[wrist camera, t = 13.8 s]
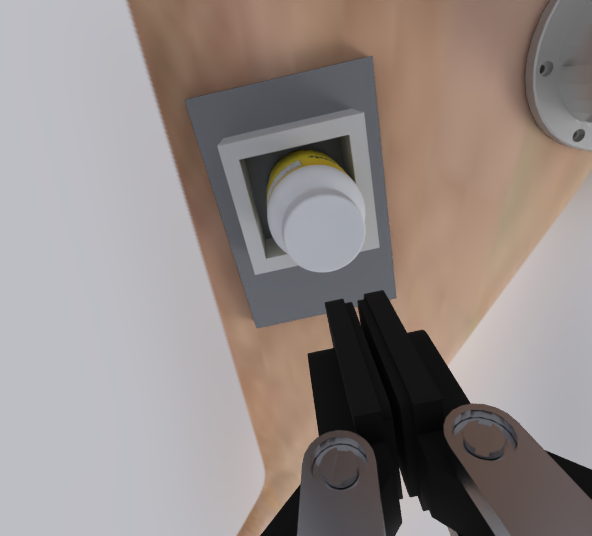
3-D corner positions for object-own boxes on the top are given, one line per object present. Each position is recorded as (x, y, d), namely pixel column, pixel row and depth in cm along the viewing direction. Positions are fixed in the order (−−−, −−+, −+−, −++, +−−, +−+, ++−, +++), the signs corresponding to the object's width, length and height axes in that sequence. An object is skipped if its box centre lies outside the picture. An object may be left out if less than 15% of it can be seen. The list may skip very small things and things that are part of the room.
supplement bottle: (357, 186, 27) (403, 237, 18) (302, 236, 28) (319, 306, 19) (307, 128, 25) (330, 153, 16) (250, 185, 26) (242, 237, 17)
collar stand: (368, 56, 24) (389, 51, 20) (392, 292, 32) (410, 322, 28) (187, 99, 24) (172, 102, 20) (256, 321, 32) (255, 355, 28)
